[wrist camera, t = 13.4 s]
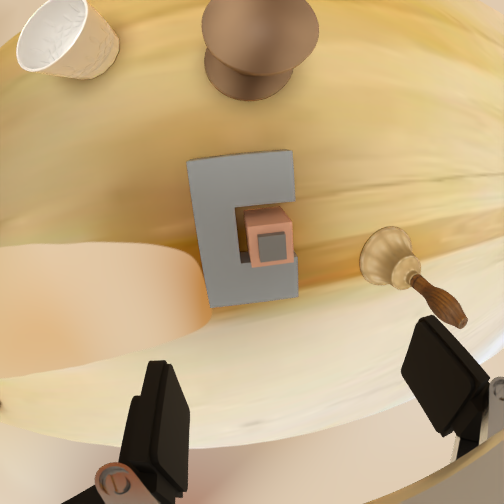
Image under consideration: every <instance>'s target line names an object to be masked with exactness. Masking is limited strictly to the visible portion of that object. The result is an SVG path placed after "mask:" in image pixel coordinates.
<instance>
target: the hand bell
mask: <svg viewBox="0 0 504 504" xmlns="http://www.w3.org/2000/svg"><path fill="white" fill-rule="evenodd" d="M360 269H361V272H362V275H363V276H364V278H365V279H366V280H367V281H368V282H370V283H372V284H375V285H386V284H391V285H392V286H394V287H395V288H397V289H400V290H404V289H408V288H410V287H413V288H414V289H415V290H416V291H418V292H419V293H420V294H421V295H423V297H424V298H425V299H426V301H427V303H428V305H429V307H430V309H431V310H432V311H433V313H434V314H435V315H436V316H437V317H438V318H439V319H441V320H442V321H444V322H445V323H448V324H450V325H453V326H455V327H457V328H459V329H462V328H463V327H464V326H465V325H466V324H467V321H468V318H467V317H466V315H465V314H464V312H463V310H462V308H461V306H460V304H459V303H458V301H457V300H456V299H455V298H454V297H453V296H452V295H451V294H449V293H448V292H446V291H445V290H443V289H440V288H437V287H434V286H432V285H431V284H430V283H429V282H428V281H427V280H426V279H424V278H423V277H422V276H421V275H420V272H421V264H420V261H419V259H418V258H417V257H416V256H415V255H414V254H413V253H412V244H411V241H410V238H409V236H408V235H407V233H406V232H405V231H403V230H402V229H400V228H398V227H386V228H383V229H381V230H379V231H377V232H376V233H374V234H373V235H372V236H371V237H370V238H369V239H368V241H367V242H366V244H365V245H364V247H363V250H362V253H361V256H360Z"/></svg>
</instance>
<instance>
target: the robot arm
mask: <svg viewBox="0 0 504 504" xmlns="http://www.w3.org/2000/svg"><path fill="white" fill-rule="evenodd" d="M401 374H402V376H403V378H404V380H405V381H406V383H407V384H408V386H409V387H410V389H411V391H412V392H413V394H414V395H415V397H416V399H417V400H418V402H419V403H420V405H421V407H422V408H423V410H424V412H425V413H426V415H427V417H428V418H429V420H430V422H431V423H432V425H433V427H434V428H435V430H436V431H437V432H438V433H440V434H441V435H442V437H445V436H446V435H448V434H450V433H452V432H453V431H454V432H455V433H456V437H455V443H454V448H453V453H452V457H451V462H450V464H449V465H447V466H445V467H444V468H442V469H440V470H439V471H437V472H435V473H433V474H431V475H429V476H427V477H425V478H423V479H421V480H419V481H417V482H415V483H413V484H411V485H409V486H407V487H404V488H402V489H400V490H398V491H395V492H393V493H391V494H388V495H386V496H383V497H381V498H378V499H376V500H372V501H370V502H367V503H364V504H504V377H497V378H494V379H493V380H492V381H491V383H489V382H488V381H489V379H490V377H489V376H488V375H487V373H486V372H485V371H484V370H483V369H482V367H481V366H480V365H479V364H478V363H477V361H476V360H475V359H474V358H473V357H472V356H471V355H470V354H469V352H468V351H467V350H466V349H465V348H464V347H463V346H462V345H461V343H460V342H459V341H458V340H457V339H456V338H455V337H454V336H453V335H452V334H451V333H450V332H449V331H448V329H447V328H446V327H445V326H444V325H443V324H442V323H441V322H440V321H439V320H438V319H437V318H436V317H435V316H434V315H429V316H426V317H423V318H420V319H419V321H418V323H417V324H416V326H415V329H414V332H413V335H412V339H411V342H410V345H409V348H408V351H407V354H406V357H405V360H404V363H403V365H402V368H401ZM189 425H190V410H189V407H188V404H187V402H186V399H185V397H184V395H183V392H182V390H181V387H180V385H179V382H178V380H177V377H176V374H175V372H174V369H173V366H172V365H171V364H167V362H166V361H165V360H160V361H149V363H148V366H147V370H146V374H145V378H144V383H143V387H142V391H141V396H134V397H133V398H132V401H131V405H130V409H129V413H128V418H127V422H126V427H125V431H124V436H123V441H122V446H121V451H120V456H119V462H113V463H108V464H105V465H104V466H102V467H101V468H99V470H98V471H97V473H96V475H95V485H93V486H92V487H90V488H88V489H87V490H85V491H83V492H81V493H80V494H78V495H76V496H74V497H73V498H71V499H69V500H67V501H65V502H63V503H62V504H175V497H179V498H182V497H183V492H186V491H187V489H188V450H189Z"/></svg>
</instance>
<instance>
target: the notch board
mask: <svg viewBox="0 0 504 504" xmlns="http://www.w3.org/2000/svg"><path fill="white" fill-rule="evenodd" d="M186 163H187V171H188V178H189V185H190V192H191V199H192V206H193V213H194V219H195V226H196V232H197V238H198V244H199V250H200V255H201V261H202V267H203V272H204V278H205V283H206V288H207V294H208V299H209V304H210V308H214V307H223V306H232V305H241V304H249V303H257V302H265V301H273V300H280V299H287V298H294V297H298V257H297V255H296V253H295V252H294V250H293V252H294V262H293V263H285V264H278V265H270V266H262V267H255V268H252V266H251V261H250V256H249V251H248V252H239V244H238V235H237V226H236V217H235V208H234V207H243V206H252V205H261V204H271V203H282V202H292V201H295V184H294V168H293V153H292V151H291V150H272V151H259V152H248V153H238V154H229V155H220V156H212V157H205V158H197V159H190V160H189V161H187V162H186Z"/></svg>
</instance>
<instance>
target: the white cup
mask: <svg viewBox="0 0 504 504" xmlns="http://www.w3.org/2000/svg"><path fill="white" fill-rule="evenodd" d="M118 52H119V38H118V37H117V35H116V33H115V32H114V30H113V29H112V28H111V27H110V25H109V24H108V23H107V22H106V21H105V19H104V18H103V17H102V16H101V15H100V14H99V13H98V12H97V10H96V9H95V8H94V7H93V6H92V5H91V4H90V3H89V2H88V1H87V0H49V1H47V2H46V3H44V4H43V5H42V6H41V7H40V8H38V9H37V10H36V11H35V13H34V14H33V15H32V16H31V17H30V18H29V20H28V21H27V23H26V24H25V26H24V28H23V30H22V32H21V34H20V36H19V39H18V43H17V49H16V56H17V61H18V63H19V65H20V66H21V67H22V68H23V69H24V70H26V71H30V72H37V73H43V74H49V75H55V76H62V77H67V78H76V79H80V80H83V79H93V78H95V77H97V76H99V75H100V74H102V73H104V72H105V71H106V70H107V69H108V68H109V67H110V66H111V65H112V64H113V63H114V60H115V58H116V56H117V54H118Z"/></svg>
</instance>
